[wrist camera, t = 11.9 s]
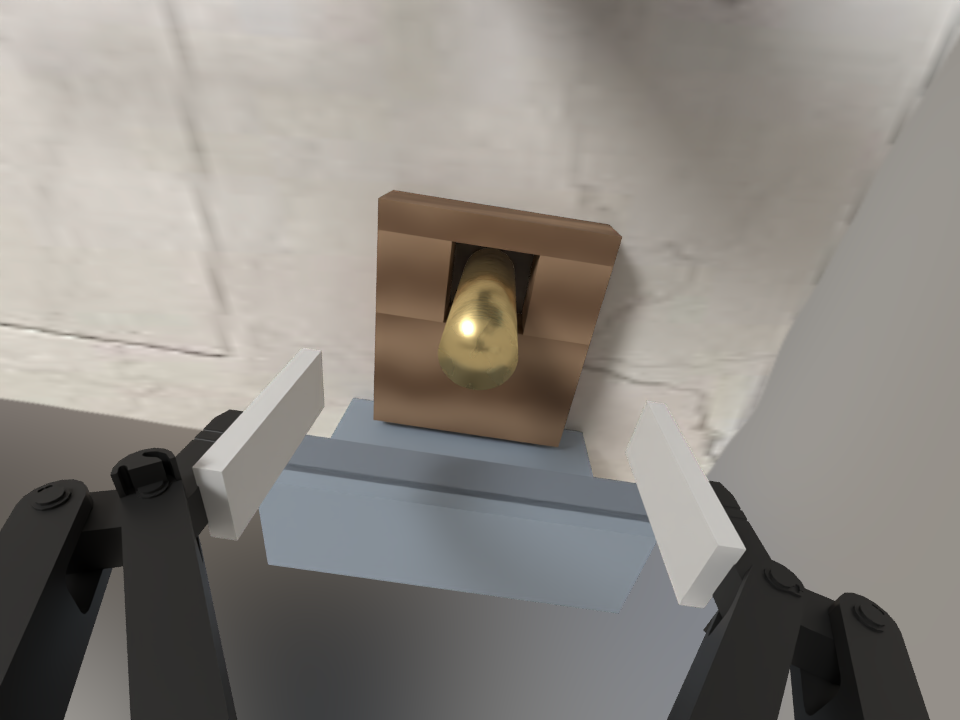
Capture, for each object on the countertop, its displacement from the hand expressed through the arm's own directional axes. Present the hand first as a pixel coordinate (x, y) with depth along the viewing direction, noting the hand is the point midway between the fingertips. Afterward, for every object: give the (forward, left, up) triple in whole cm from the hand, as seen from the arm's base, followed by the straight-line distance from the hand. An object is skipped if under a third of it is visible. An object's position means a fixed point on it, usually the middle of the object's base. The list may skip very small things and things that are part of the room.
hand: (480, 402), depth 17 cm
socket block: (+2, +4, -18) cm, 19 cm away
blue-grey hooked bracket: (+6, +10, -18) cm, 22 cm away
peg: (0, 0, -18) cm, 18 cm away
